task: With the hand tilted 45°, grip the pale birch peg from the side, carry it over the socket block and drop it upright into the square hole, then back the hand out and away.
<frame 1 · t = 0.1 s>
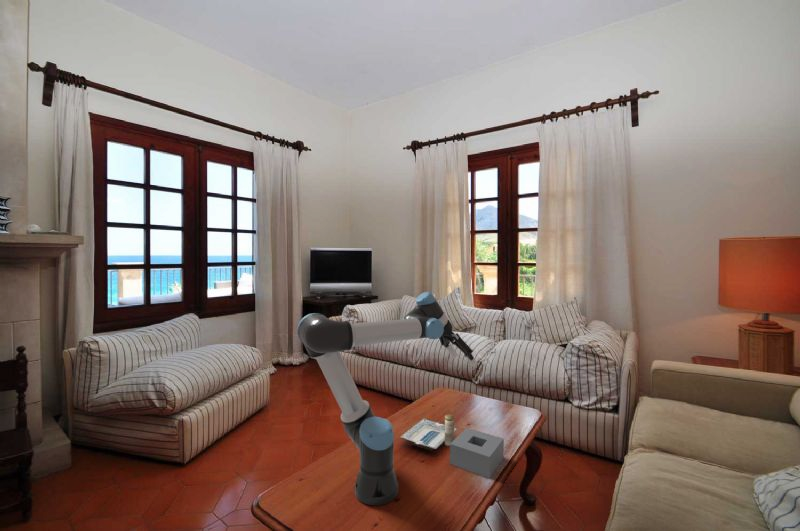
hand: (464, 360, 154), 36 cm above the table, tool tilted 35°, fingers open, 13 cm apart
socket block: (477, 461, 139), on the table
peg: (449, 443, 152), on the table
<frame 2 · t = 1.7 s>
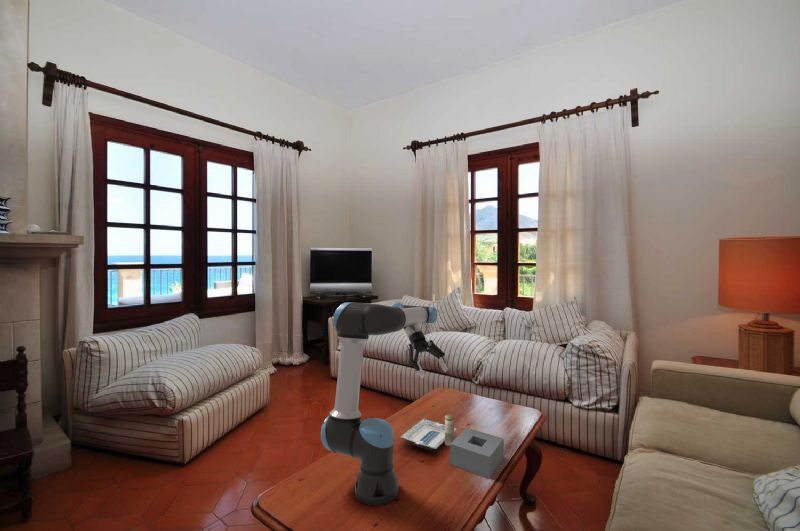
hand: (434, 373, 160), 28 cm above the table, tool tilted 45°, fingers open, 13 cm apart
nothing on the table moved.
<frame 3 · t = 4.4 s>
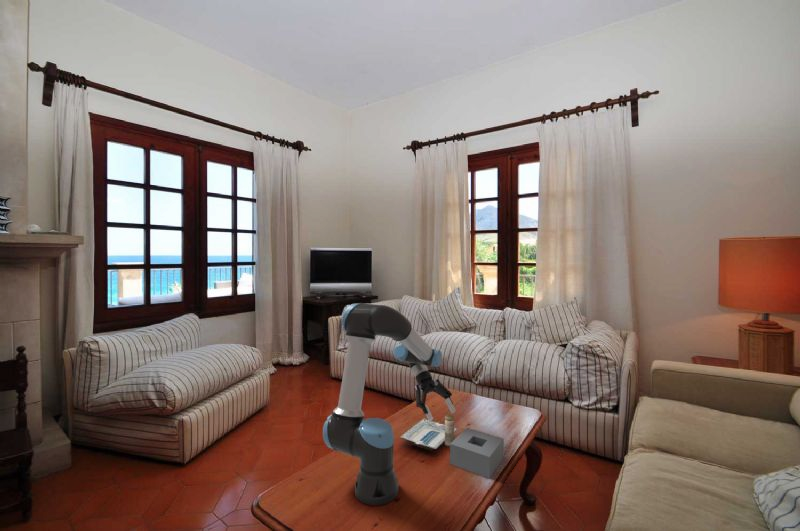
hand: (442, 416, 157), 10 cm above the table, tool tilted 45°, fingers open, 13 cm apart
nothing on the table moved.
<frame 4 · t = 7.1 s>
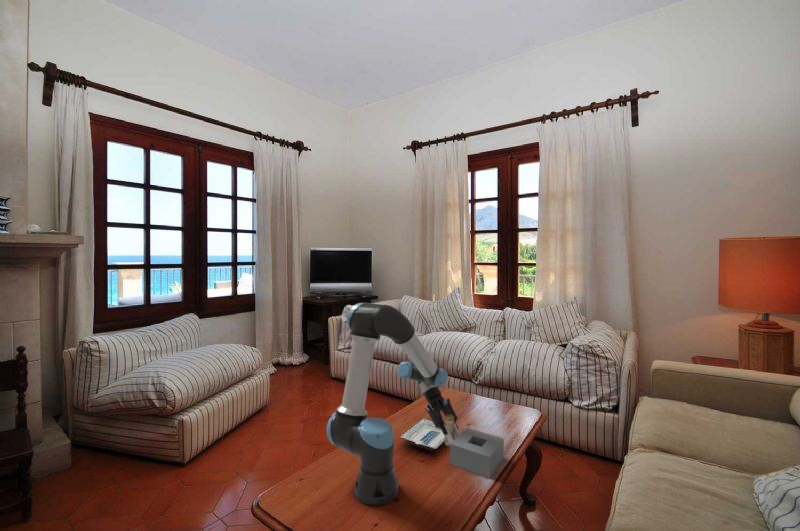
hand: (455, 440, 149), 3 cm above the table, tool tilted 45°, fingers closed on peg, 4 cm apart
peg: (449, 443, 152), on the table, touching gripper
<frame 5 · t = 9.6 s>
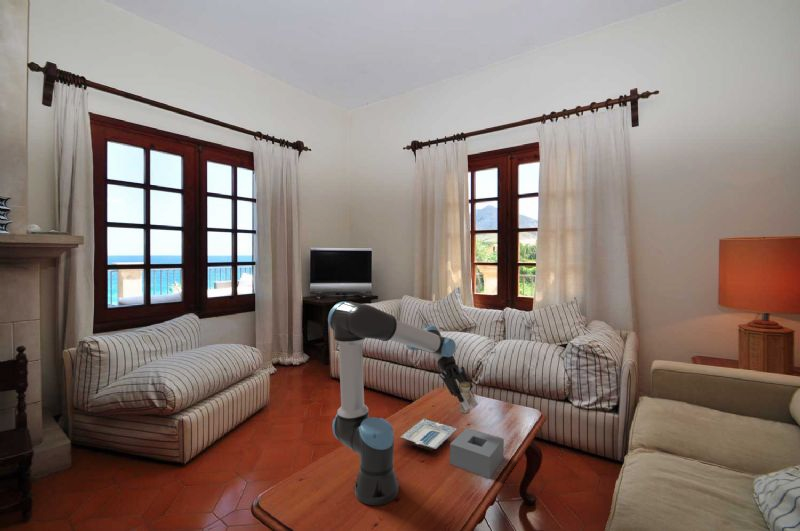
hand: (471, 407, 143), 20 cm above the table, tool tilted 45°, fingers closed on peg, 4 cm apart
peg: (464, 411, 146), point 17 cm above the table, touching gripper
when the fingers open (12 cm above the table, at t = 12.3 s): peg drops 8 cm, resting on socket block.
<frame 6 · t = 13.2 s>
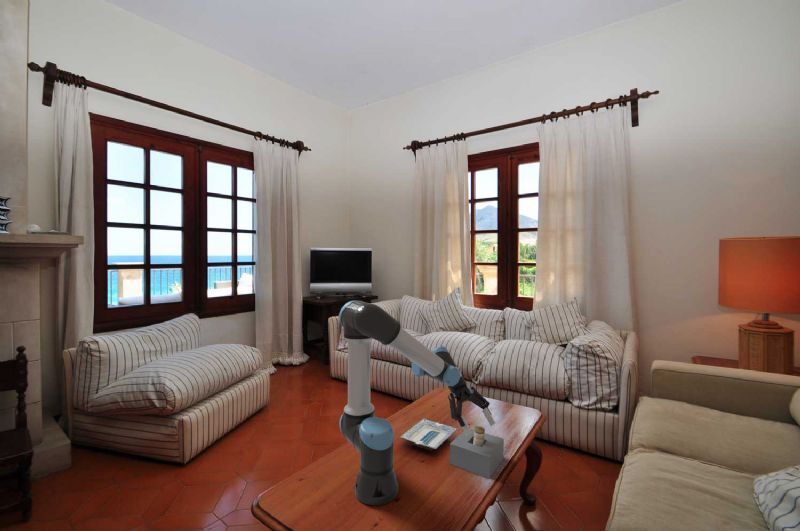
hand: (481, 429, 137), 14 cm above the table, tool tilted 45°, fingers open, 13 cm apart
peg: (476, 458, 139), point 1 cm above the table, tilted 5°, touching socket block
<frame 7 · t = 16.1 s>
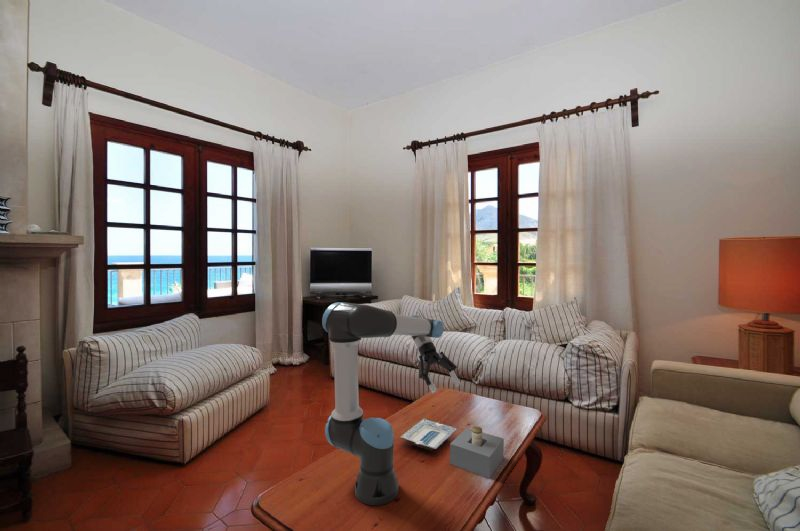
hand: (446, 388, 149), 25 cm above the table, tool tilted 45°, fingers open, 13 cm apart
peg: (476, 458, 139), point 1 cm above the table, touching socket block
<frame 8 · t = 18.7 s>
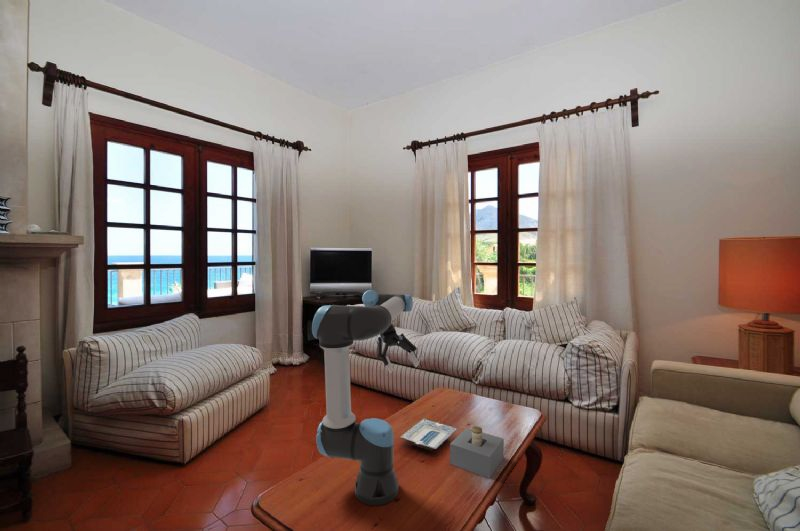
hand: (404, 368, 149), 34 cm above the table, tool tilted 45°, fingers open, 13 cm apart
nothing on the table moved.
at the end: peg 0.1 cm off-centre on the socket block, point 1.0 cm above the socket block's base; peg tilted 0°; the gripper is holding nothing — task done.
